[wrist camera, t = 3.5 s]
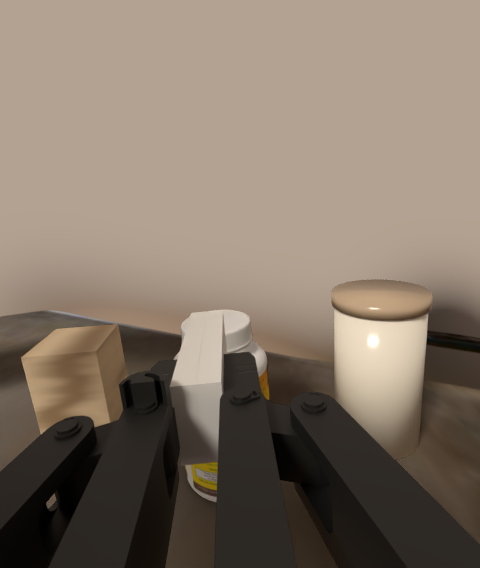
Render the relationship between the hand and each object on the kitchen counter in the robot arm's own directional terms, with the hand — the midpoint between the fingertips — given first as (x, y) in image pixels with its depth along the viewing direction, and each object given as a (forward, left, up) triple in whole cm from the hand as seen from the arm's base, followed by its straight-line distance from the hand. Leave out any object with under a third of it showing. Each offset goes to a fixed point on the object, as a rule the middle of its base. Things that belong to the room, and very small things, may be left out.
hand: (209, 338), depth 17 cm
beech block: (-19, 0, -15) cm, 24 cm away
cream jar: (+1, +17, -15) cm, 22 cm away
